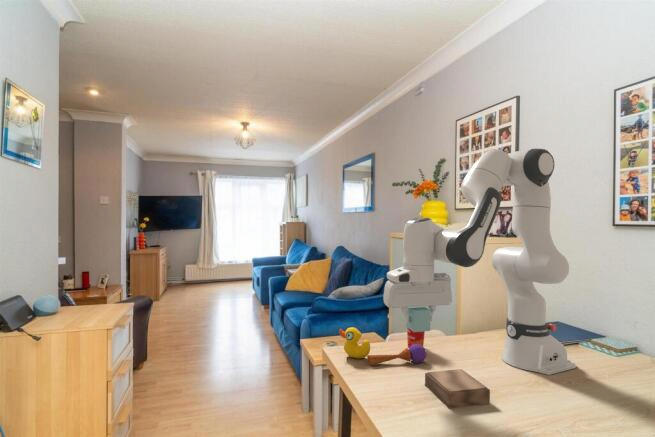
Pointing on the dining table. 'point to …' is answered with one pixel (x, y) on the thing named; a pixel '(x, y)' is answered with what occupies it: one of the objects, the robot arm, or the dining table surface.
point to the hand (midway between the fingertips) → (418, 321)
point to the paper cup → (415, 337)
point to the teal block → (419, 319)
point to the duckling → (354, 343)
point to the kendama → (401, 355)
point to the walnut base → (457, 388)
